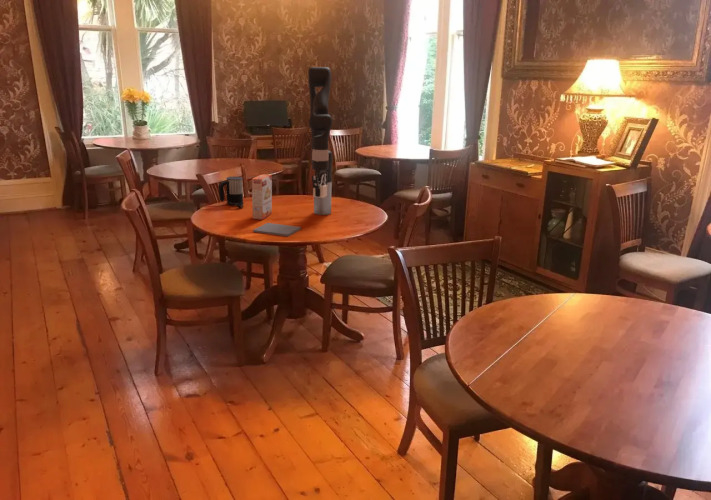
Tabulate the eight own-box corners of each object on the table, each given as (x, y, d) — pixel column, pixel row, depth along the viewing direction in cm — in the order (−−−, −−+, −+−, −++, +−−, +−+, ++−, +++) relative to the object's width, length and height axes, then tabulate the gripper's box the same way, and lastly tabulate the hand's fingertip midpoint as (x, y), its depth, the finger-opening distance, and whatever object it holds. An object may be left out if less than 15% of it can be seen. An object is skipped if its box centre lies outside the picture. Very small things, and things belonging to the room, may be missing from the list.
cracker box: (263, 220, 285) (262, 179, 278) (252, 219, 286) (250, 178, 279) (272, 213, 298) (272, 174, 291) (261, 212, 299) (261, 173, 292)
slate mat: (267, 224, 277) (267, 222, 276) (300, 229, 271) (300, 227, 271) (253, 231, 264) (253, 229, 264) (287, 236, 258) (287, 234, 258)
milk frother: (236, 201, 322) (235, 175, 318) (255, 205, 314) (254, 179, 309) (216, 205, 311) (215, 178, 307) (236, 210, 303) (235, 182, 298)
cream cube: (317, 194, 267) (317, 184, 265) (327, 195, 265) (327, 185, 264) (313, 196, 262) (313, 186, 261) (323, 197, 261) (323, 187, 259)
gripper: (318, 156, 266) (318, 191, 271) (306, 160, 253) (306, 197, 259) (333, 157, 264) (333, 193, 269) (321, 161, 251) (321, 199, 256)
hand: (320, 195), depth 264 cm, fingers closed on cream cube, 5 cm apart
